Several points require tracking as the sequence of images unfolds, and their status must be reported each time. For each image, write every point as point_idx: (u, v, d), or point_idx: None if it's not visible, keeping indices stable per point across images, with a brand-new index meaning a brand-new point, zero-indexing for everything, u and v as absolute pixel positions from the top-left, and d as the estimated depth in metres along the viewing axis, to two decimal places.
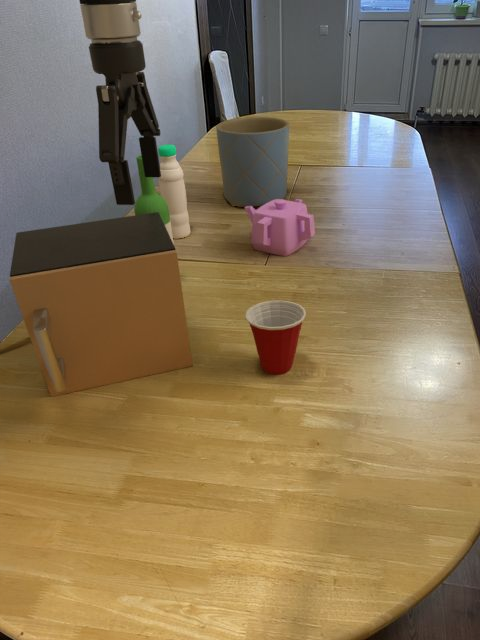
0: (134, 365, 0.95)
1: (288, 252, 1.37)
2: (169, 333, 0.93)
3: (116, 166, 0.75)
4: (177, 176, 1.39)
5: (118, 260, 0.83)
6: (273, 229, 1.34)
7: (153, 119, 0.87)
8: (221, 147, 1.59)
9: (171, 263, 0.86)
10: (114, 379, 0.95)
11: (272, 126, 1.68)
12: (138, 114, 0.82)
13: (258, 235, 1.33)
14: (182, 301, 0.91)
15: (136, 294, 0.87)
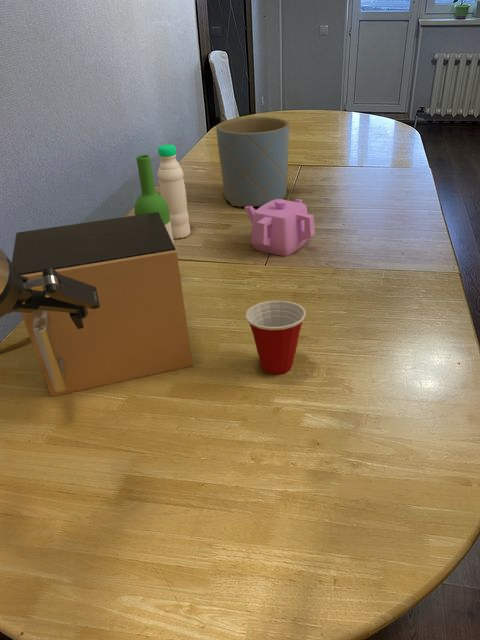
0: (134, 365, 0.95)
1: (288, 252, 1.37)
2: (169, 333, 0.93)
3: None
4: (177, 176, 1.39)
5: (118, 260, 0.83)
6: (273, 229, 1.34)
7: (82, 305, 0.60)
8: (221, 147, 1.59)
9: (171, 263, 0.86)
10: (114, 379, 0.95)
11: (272, 126, 1.68)
12: None
13: (258, 235, 1.33)
14: (182, 301, 0.91)
15: (136, 294, 0.87)
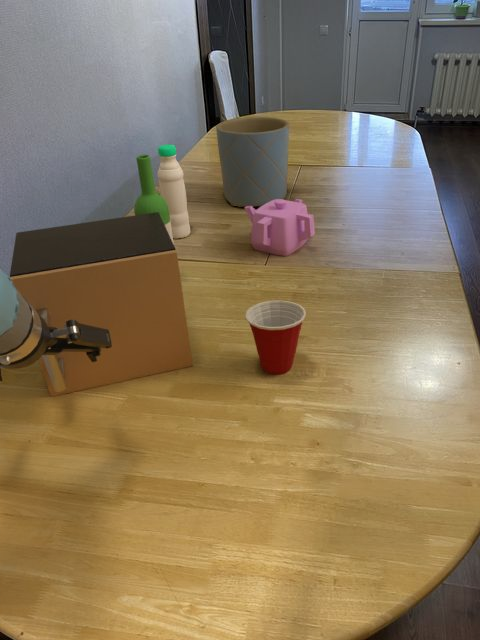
0: (134, 365, 0.95)
1: (288, 252, 1.37)
2: (169, 333, 0.93)
3: None
4: (177, 176, 1.39)
5: (118, 260, 0.83)
6: (273, 229, 1.34)
7: (97, 346, 0.71)
8: (221, 147, 1.59)
9: (171, 263, 0.86)
10: (114, 379, 0.95)
11: (272, 126, 1.68)
12: None
13: (258, 235, 1.33)
14: (182, 301, 0.91)
15: (136, 294, 0.87)
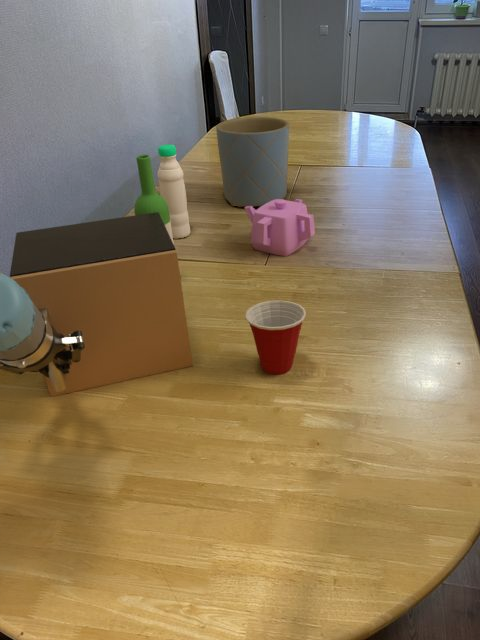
0: (134, 365, 0.95)
1: (288, 252, 1.37)
2: (169, 333, 0.93)
3: None
4: (177, 176, 1.39)
5: (118, 260, 0.83)
6: (273, 229, 1.34)
7: (72, 359, 0.78)
8: (221, 147, 1.59)
9: (171, 263, 0.86)
10: (114, 379, 0.95)
11: (272, 126, 1.68)
12: None
13: (258, 235, 1.33)
14: (182, 301, 0.91)
15: (136, 294, 0.87)
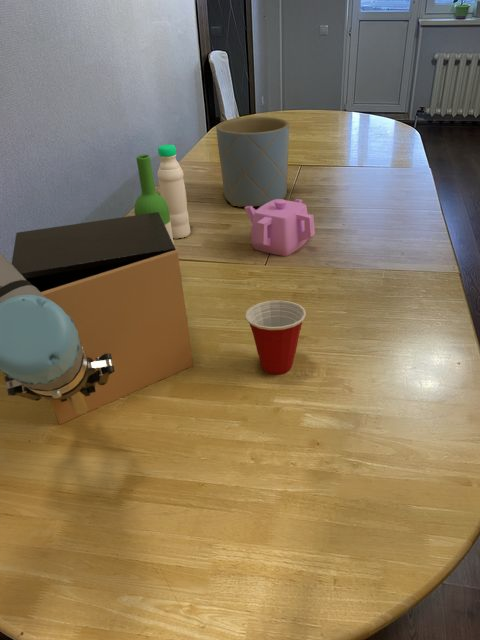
0: (140, 374, 0.92)
1: (288, 252, 1.37)
2: (172, 336, 0.93)
3: None
4: (177, 176, 1.39)
5: (123, 267, 0.81)
6: (273, 229, 1.34)
7: (99, 382, 0.74)
8: (221, 147, 1.59)
9: (173, 264, 0.86)
10: (121, 393, 0.92)
11: (272, 126, 1.68)
12: None
13: (258, 235, 1.33)
14: (183, 301, 0.91)
15: (141, 300, 0.85)
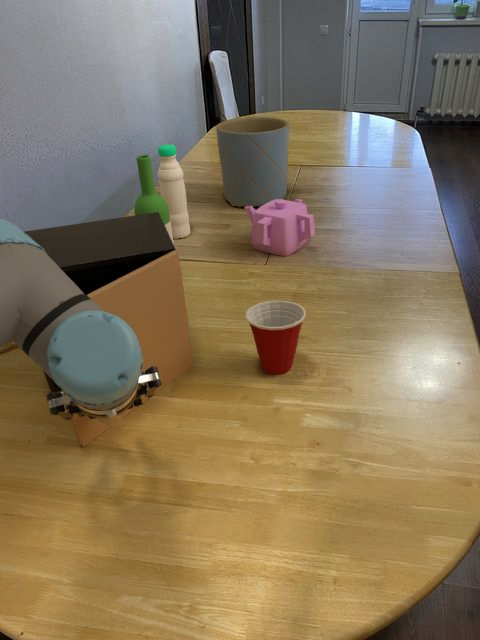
0: None
1: (288, 252, 1.37)
2: (176, 337, 0.92)
3: None
4: (177, 176, 1.39)
5: (133, 273, 0.80)
6: (273, 229, 1.34)
7: (146, 395, 0.71)
8: (221, 147, 1.59)
9: (175, 264, 0.86)
10: None
11: (272, 126, 1.68)
12: None
13: (258, 235, 1.33)
14: (184, 301, 0.91)
15: (150, 305, 0.84)
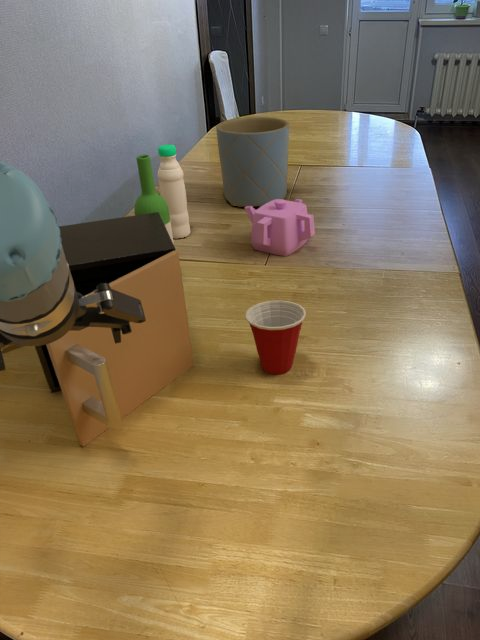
0: (151, 381, 0.91)
1: (288, 252, 1.37)
2: (176, 337, 0.92)
3: None
4: (177, 176, 1.39)
5: (133, 273, 0.80)
6: (273, 229, 1.34)
7: (129, 320, 0.57)
8: (221, 147, 1.59)
9: (175, 264, 0.86)
10: (136, 404, 0.89)
11: (272, 126, 1.68)
12: None
13: (258, 235, 1.33)
14: (184, 301, 0.91)
15: (150, 305, 0.84)
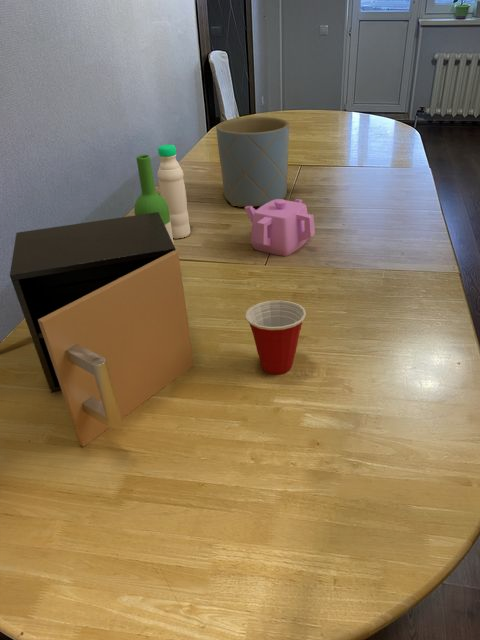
0: (151, 381, 0.91)
1: (288, 252, 1.37)
2: (176, 337, 0.92)
3: None
4: (177, 176, 1.39)
5: (133, 273, 0.80)
6: (273, 229, 1.34)
7: None
8: (221, 147, 1.59)
9: (175, 264, 0.86)
10: (136, 404, 0.89)
11: (272, 126, 1.68)
12: None
13: (258, 235, 1.33)
14: (184, 301, 0.91)
15: (150, 305, 0.84)
